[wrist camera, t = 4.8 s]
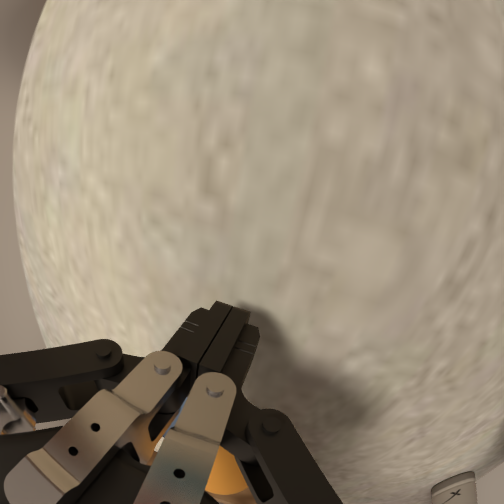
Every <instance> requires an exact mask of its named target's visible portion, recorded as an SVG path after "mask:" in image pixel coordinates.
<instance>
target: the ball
mask: <svg viewBox="0 0 504 504" xmlns="http://www.w3.org/2000/svg"><path fill="white" fill-rule="evenodd" d="M246 488H248V485H247V483H246V481H245V479H244V477H243V475H242V473H241V471H240V469H239V467H238V464H237V462H236V460H235V457H234V455H232V454H231V453H230V452H228V451H227V450H225V449H224V448H223V447H221V446H219V449H218V452H217V455H216V458H215V461H214V464H213V467H212V470H211V473H210V476H209V479H208V482H207V485H206V488H205V490H206V491H208V492H211V493H214V494H220V495H230V494H235V493H238V492H241V491H243V490H245V489H246Z"/></svg>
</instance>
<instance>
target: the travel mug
mask: <svg viewBox="0 0 504 504" xmlns="http://www.w3.org/2000/svg"><path fill="white" fill-rule="evenodd" d="M432 498H433V499H432V504H477V492H476V483H475V474H474V472H466V473H462V474H459V475H456V476H454V477H451V478H449V479H447V480H445V481H442V482H441V483H439V484H437V485H436V486H434V487H433V488H432Z"/></svg>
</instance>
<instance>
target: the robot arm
mask: <svg viewBox="0 0 504 504" xmlns="http://www.w3.org/2000/svg"><path fill="white" fill-rule="evenodd" d="M249 317H250V312H249V311H246V310H243V309H240V308H237V307H233V306H231V305H228V304H225V303H222V302H219V301H216V302H215V303H214V304H213V306H212V307H211V309H210V310H207V309H204V308H199V309H197V310H195V311H193V312H192V313H191V314H190V315H189V316H188V318H187V319H186V320H185V322H184V323H183V324H182V325H181V327H180V328H179V329H178V330H177V332H176V333H175V334H174V335H173V337H172V338H171V339H170V340H169V342H168V343H167V344H166V345H165V347H164V348H163V349H162V350H161V351H155V352H152V353H150V354H148V355H147V356H146V357H137V356H132V355H127V354H122V349H121V347H120V346H119V345H118V344H117V343H116V342H114V341H112V340H109V339H99V340H94V341H89V342H84V343H78V344H72V345H67V346H61V347H55V348H48V349H42V350H36V351H28V352H21V353H14V354H6V355H0V504H219V503H218V502H217V501H216V500H215V499H214V498H213V497H212V496H211V495H210V494H208V493H207V492H206V491H205V488H206V485H207V482H208V479H209V476H210V473H211V470H212V467H213V464H214V461H215V458H216V455H217V452H218V449H219V446H221V447H223V448H224V449H225V450H227V451H228V452H230V453H231V454H232V455H234V457H235V460H236V462H237V464H238V467H239V469H240V471H241V473H242V475H243V477H244V479H245V481H246V483H247V485H248V487H249V489H250V491H251V493H252V495H253V497H254V499H255V501H256V503H257V504H343V503H342V501H341V500H340V499H339V497H338V496H337V494H336V493H335V491H334V490H333V488H332V487H331V485H330V484H329V482H328V481H327V479H326V477H325V476H324V474H323V473H322V471H321V470H320V468H319V467H318V465H317V463H316V462H315V460H314V459H313V457H312V455H311V454H310V452H309V451H308V449H307V447H306V446H305V444H304V443H303V441H302V439H301V438H300V436H299V434H298V433H297V431H296V429H295V428H294V426H293V424H292V423H291V421H290V419H289V418H288V417H287V416H286V415H285V414H283V413H282V412H280V411H278V410H274V409H262V410H260V409H258V408H257V407H255V406H254V405H252V404H251V403H250V402H248V401H247V400H246V398H245V397H244V395H243V393H242V390H241V388H242V385H243V383H244V380H245V378H246V375H247V373H248V370H249V368H250V365H251V363H252V360H253V357H254V354H255V351H256V348H257V344H258V341H259V338H260V335H259V330H258V327H255V326H252V325H249V324H248V321H249ZM186 397H188V398H187V400H186V402H185V404H184V407H183V409H182V411H181V413H180V415H179V417H178V420H177V422H176V424H175V425H174V427H171V428H170V429H169V431H168V432H167V434H166V436H165V438H164V440H163V442H162V444H161V446H160V448H159V451H158V453H157V455H156V457H155V459H154V461H153V463H152V465H151V466H149V465H146V464H147V463H148V461H149V460H150V458H151V456H152V454H153V452H154V448H155V446H156V444H157V443H158V441H159V440H160V439H161V437H162V436H163V435H164V433H165V432H166V430H167V429H168V428H169V426H170V425H171V423H172V422H173V421H174V419H175V418H176V416H177V415H178V414H179V412H180V410H181V406H182V404H183V402H184V401H185V399H186ZM69 418H71V419H70V420H69V421H68V422H67V423H66V424H65V425H64V426H59V427H54V428H48V429H42V430H36V431H35V429H36V428H35V424H36V423H43V422H50V421H57V420H62V419H69Z"/></svg>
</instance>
